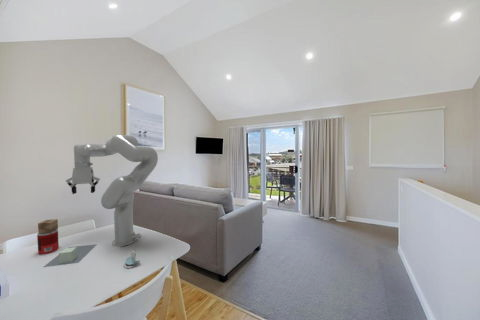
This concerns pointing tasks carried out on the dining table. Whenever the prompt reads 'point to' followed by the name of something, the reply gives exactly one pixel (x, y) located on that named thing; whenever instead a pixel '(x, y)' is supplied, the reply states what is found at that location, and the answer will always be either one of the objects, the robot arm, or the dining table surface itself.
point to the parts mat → (81, 253)
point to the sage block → (67, 255)
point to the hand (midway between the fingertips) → (83, 193)
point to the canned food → (47, 242)
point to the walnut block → (47, 226)
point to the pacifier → (131, 260)
